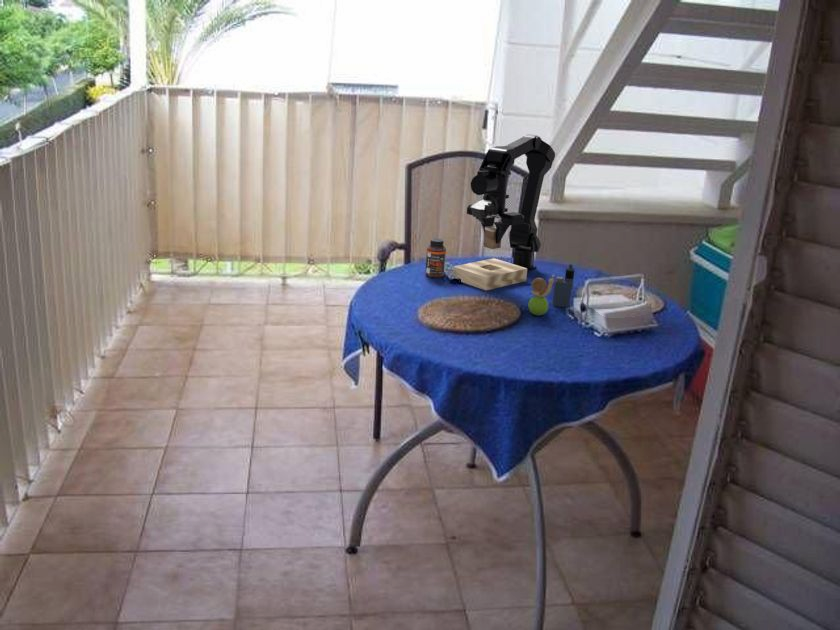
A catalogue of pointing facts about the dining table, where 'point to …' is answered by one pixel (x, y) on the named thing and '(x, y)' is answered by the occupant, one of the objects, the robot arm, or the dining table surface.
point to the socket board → (490, 273)
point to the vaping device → (563, 288)
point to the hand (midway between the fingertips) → (492, 242)
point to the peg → (491, 238)
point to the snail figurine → (540, 296)
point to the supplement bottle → (435, 258)
